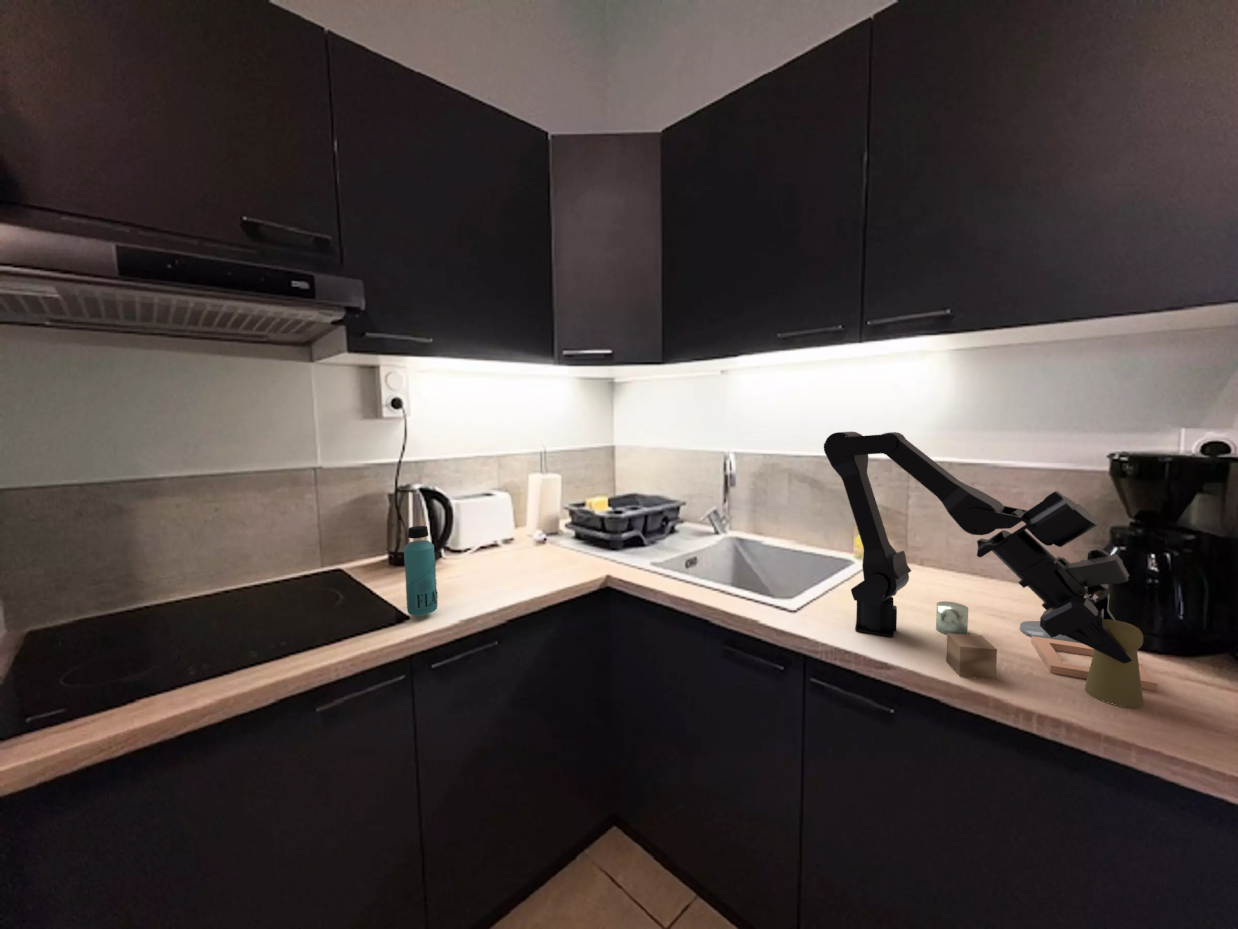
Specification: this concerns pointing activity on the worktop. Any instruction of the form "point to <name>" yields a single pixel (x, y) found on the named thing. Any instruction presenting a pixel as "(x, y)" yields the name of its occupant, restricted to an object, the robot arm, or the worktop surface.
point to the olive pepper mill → (1117, 669)
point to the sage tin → (951, 618)
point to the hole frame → (1057, 666)
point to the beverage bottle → (420, 573)
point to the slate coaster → (1040, 631)
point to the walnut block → (971, 656)
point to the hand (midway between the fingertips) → (1129, 655)
